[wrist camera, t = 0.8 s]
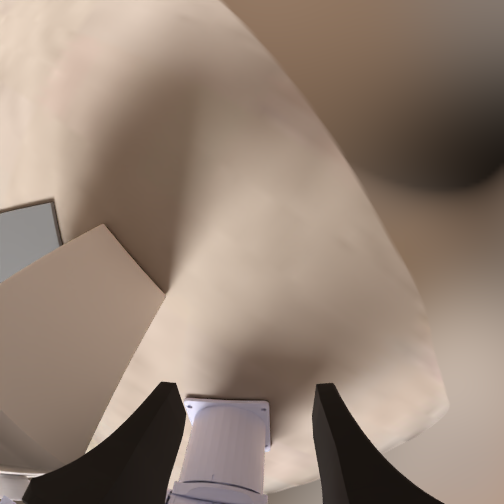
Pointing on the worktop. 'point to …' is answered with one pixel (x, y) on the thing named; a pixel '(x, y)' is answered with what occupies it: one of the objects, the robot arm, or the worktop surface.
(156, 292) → the cream plain cuboid
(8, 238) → the mat
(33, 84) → the worktop surface
